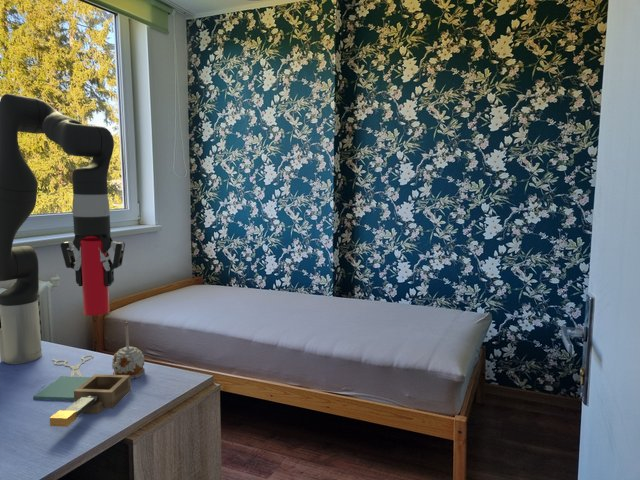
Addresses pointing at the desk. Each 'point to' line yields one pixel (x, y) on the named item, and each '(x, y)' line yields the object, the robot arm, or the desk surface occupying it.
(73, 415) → the lever
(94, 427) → the desk surface
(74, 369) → the scissors
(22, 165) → the robot arm
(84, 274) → the bottle
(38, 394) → the coaster
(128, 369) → the caramel apple
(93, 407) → the holder
